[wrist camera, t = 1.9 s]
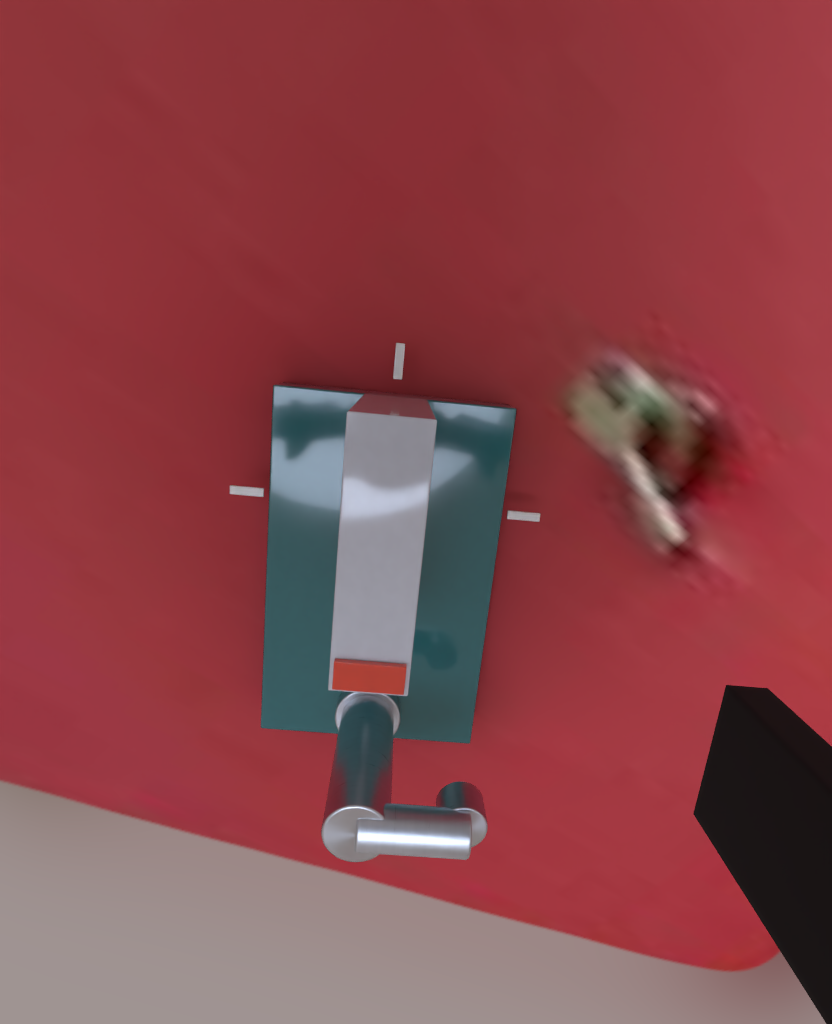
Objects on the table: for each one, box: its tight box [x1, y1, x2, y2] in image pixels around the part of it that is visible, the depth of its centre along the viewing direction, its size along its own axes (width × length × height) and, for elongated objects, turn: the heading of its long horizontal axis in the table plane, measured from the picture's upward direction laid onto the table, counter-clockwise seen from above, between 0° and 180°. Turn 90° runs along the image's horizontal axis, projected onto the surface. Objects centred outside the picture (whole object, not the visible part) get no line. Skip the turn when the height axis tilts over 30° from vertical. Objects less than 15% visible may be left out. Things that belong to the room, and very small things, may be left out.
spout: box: [321, 692, 487, 862], centre depth 24 cm, size 6×3×8 cm, turn 84°
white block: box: [328, 394, 437, 696], centre depth 22 cm, size 9×3×8 cm, turn 174°
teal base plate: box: [230, 343, 540, 743], centre depth 27 cm, size 18×13×2 cm
